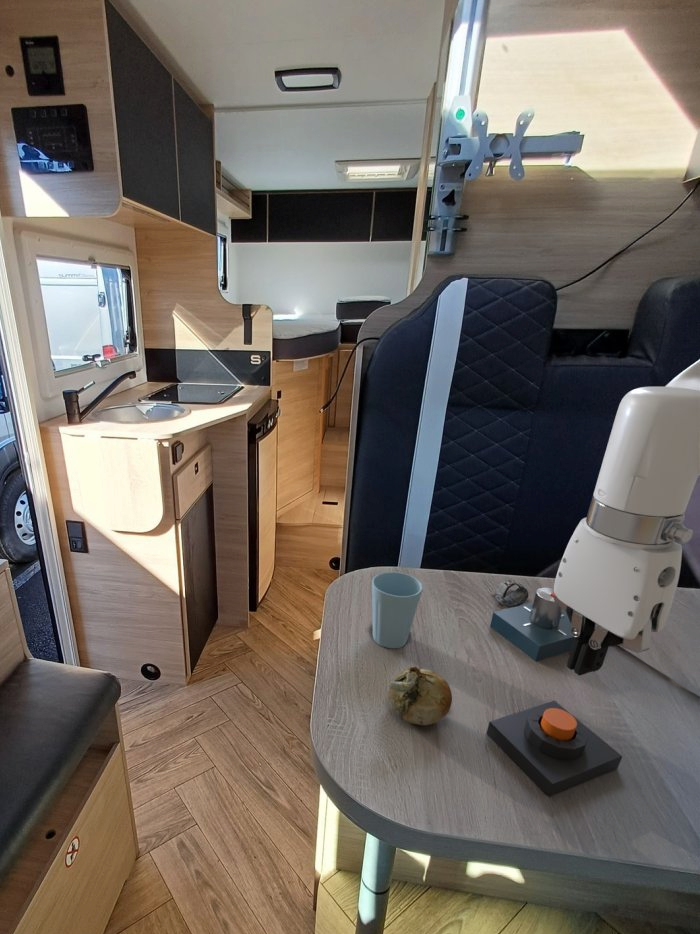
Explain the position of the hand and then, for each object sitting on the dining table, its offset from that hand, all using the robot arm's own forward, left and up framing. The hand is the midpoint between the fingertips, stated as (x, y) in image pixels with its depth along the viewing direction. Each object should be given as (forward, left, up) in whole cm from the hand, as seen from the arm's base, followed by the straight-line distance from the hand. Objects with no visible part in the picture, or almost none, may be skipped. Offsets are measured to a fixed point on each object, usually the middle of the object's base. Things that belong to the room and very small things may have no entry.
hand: (582, 668), depth 59 cm
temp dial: (-17, -19, -10) cm, 28 cm away
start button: (+1, 0, -9) cm, 9 cm away
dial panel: (-17, -19, -13) cm, 29 cm away
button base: (+1, 0, -13) cm, 13 cm away
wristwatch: (-20, -29, -13) cm, 38 cm away
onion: (+13, -11, -13) cm, 21 cm away
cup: (+7, -27, -13) cm, 31 cm away
